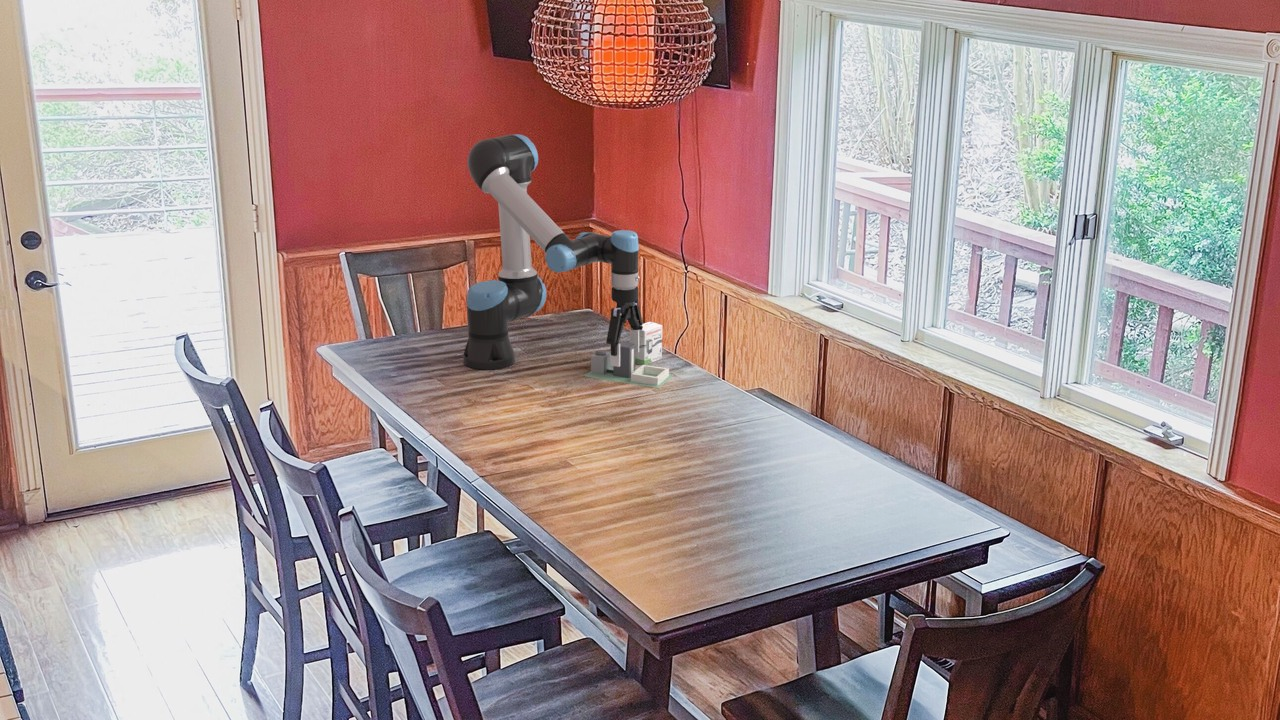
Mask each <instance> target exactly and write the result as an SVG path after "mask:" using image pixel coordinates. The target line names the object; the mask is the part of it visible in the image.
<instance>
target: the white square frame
mask: <svg viewBox="0 0 1280 720" xmlns="http://www.w3.org/2000/svg"><path fill="white" fill-rule="evenodd" d="M636 369H637V370H635V371H634V372H633V373H632V374H631V381H632V382H638V383H644V384H651V385H657V386H658V385H659V384H660V383H661V382H662V381H664V380H665V379H666V378H667V377H668V376H669V374H670V368H667V367H659V366H653V365H649V364H646V365H641V366H639V367H638V368H636ZM644 373H646V374H653V375H658V376H657V377H654V376H647V375H643V374H644Z"/></svg>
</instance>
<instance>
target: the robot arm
mask: <svg viewBox="0 0 1280 720" xmlns="http://www.w3.org/2000/svg"><path fill="white" fill-rule="evenodd" d="M538 164H539V154H538V150H537V147H536V145H535V144H534V143H533V142H532V141H531V140H530V138H529V137H527V136H525V135H524V134H521V133H520V134H518V133H516V134H514V133H513V134H505V135H502V136H501V135H500V136H496V137H491V138H486V139H485V138H484V139H481V140H479V141H477V142H476V143H475V144H474V145H473V146H472V147H471V148H470V150H469V153H468V156H467V168H468V172H469V175H470V177H471V179H472V180H473V182H474V183H475V185H476V186H477V187H478V188H479V189H480V191H481V192H483V194H490V196H492V197H493V199H494V200H495V201H496V202H497V203H498V204H497V205H498V206H497V207H498V216H499V217H498V220H499V232H500V246H501V247H500V248H501V261H502V269H501V270H500V271H499V272H498V274H497V276H498V277H497V278H498V280H497V279H491V280H487V281H486V280H483V281H478V282H476V283H474V284H473V285H471V286H470V287H469V289H468V291H467V296H466V297H467V298H466V309H467V310H466V311H467V312H466V313H467V330H468V332H467V334H468V337H467V340H466V344H465V348H464V352H463V355H462V359H463V360H462V361H463V364H464V365H465V366H466V367H469V368H470V369H471V368H472V369H477V370H489V371H490V370H499V369H504V368H507V367H510V366H513V364H514V363H515V362H516V357H515V356H516V355H515V351H514V349H513V345H512V341H511V339H510V337H509V323H510V322H514V321H517V320H519V319H522V318H525V317H530V316H532V315H534V314H535V313H538V312H539V311H540V310H541V309H542V308H543V307H544V306H545V305H544V304H545V302H546V299H547V288H546V285H545V283H544V282H543V280H542V279H541V277H539V276H538V271H537V270H536V269H535V268H534V267H533V265H532V251H531V238H532V240H533V241H534V242H535V243H536V244H537V245H538V246H539V247H540V248H541V250H543V252H544V253H545V254H544V260H545V262H546V264H547V267H548V269H549V270H551V271H553V272H554V273H563V272H570V271H573V269H576V268H579V267H583V266H587V265H590V264H592V263H596V262H598V263H599V262H600V263H604V264H610V266H611V267H610V268H611V271H610V273H611V275H610V277H611V280H610V284H611V286H612V287H611V288H610V290H611V300H612V301H613V302H615V304H616V306H615V307H616V308H610V309H611V310H610V320H609V326H608V331H607V337H606V342H605V343H606V345H607V344H608V345H609V352H610V366H617V367H620V344H619V342H620V339H621V335H622V332H623V329H624V325H625V324H626V323H627V322H628V324H629V326H630V329H629V343H633V344H635V352H639V330H642V329H643V326H642V325H643V324H644V322H643V318H642V314H641V309H640V304H639V303H640V302H639V287H638V285H639V280H640V275H639V251H640V246H639V236H638V234H637V232H635V231H633V230H625V229H621V230H615V231H613V232H612V233H611V236H610V235H605V234H600V233H596V232H587V231H586V232H581V233H579V234H578V235H577V236H576V237H575V239H573V240H572V239H571V238H570V237H569V236H568V235H567V234H566V233H565V232H564V231H563V230H562V229H561V227H559V226H558V225H557V223H555V221H553V220H552V219H551V217H549V215H548V214H547V213H546V212H545V211H544V210H543V209H542V208H541V207H540V205H539V204H537V202H536V201H535V200H534V199H533V198H532V197H531V196H530V195H529V194H528V186H529V185H530V184H531V183H532V172H534V171H535V170H536V167H537V166H538Z"/></svg>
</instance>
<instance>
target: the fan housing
mask: <svg viewBox="0 0 1280 720" xmlns="http://www.w3.org/2000/svg"><path fill="white" fill-rule="evenodd" d="M610 369H611V366H610V351H607V350H604V349H603V350H601V349H599V350H595V352H594V353H592V354H591V355H590V371H591V372H594V373H601V374H604V373H606V372H610V373H613V370H610Z"/></svg>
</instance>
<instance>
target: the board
mask: <svg viewBox="0 0 1280 720" xmlns="http://www.w3.org/2000/svg"><path fill="white" fill-rule="evenodd" d="M637 369H638V368H635V370H637ZM610 370H613V366H611V369H610ZM643 375H647V376H654V377H657V376H658V375H653V374H646V373H644V374H643ZM673 376H674V374H673V373H669V376H668V377H667V378H666V379H665V380H664V381H662V382H661V383H660V384H659V385H658V386H657V385H651V384H644V383H638V382H632V381H631V377H630V378H626V377H620V376H613V373H610V372H606V373H604V374H601V373H594V372H591V370H590V371H588V372H587V373H586V374H584V375H583V377H586V378H592V379H598V380H605V381H612V382H617V383H618V382H619V383H624V384H630V385H635V386H642V387H648V388H655V389H659V388H661V386H663V385H664V384H665V383H666V382H668V381H669V380H670V379H671V378H672V377H673Z"/></svg>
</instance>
